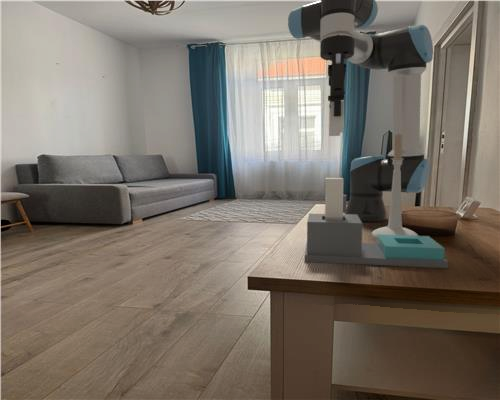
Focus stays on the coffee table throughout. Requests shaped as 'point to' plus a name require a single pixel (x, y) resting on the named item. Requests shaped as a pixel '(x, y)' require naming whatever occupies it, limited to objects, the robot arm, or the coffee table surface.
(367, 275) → the coffee table surface
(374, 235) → the candlestick
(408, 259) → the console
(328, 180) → the plug
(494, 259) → the coffee table surface
